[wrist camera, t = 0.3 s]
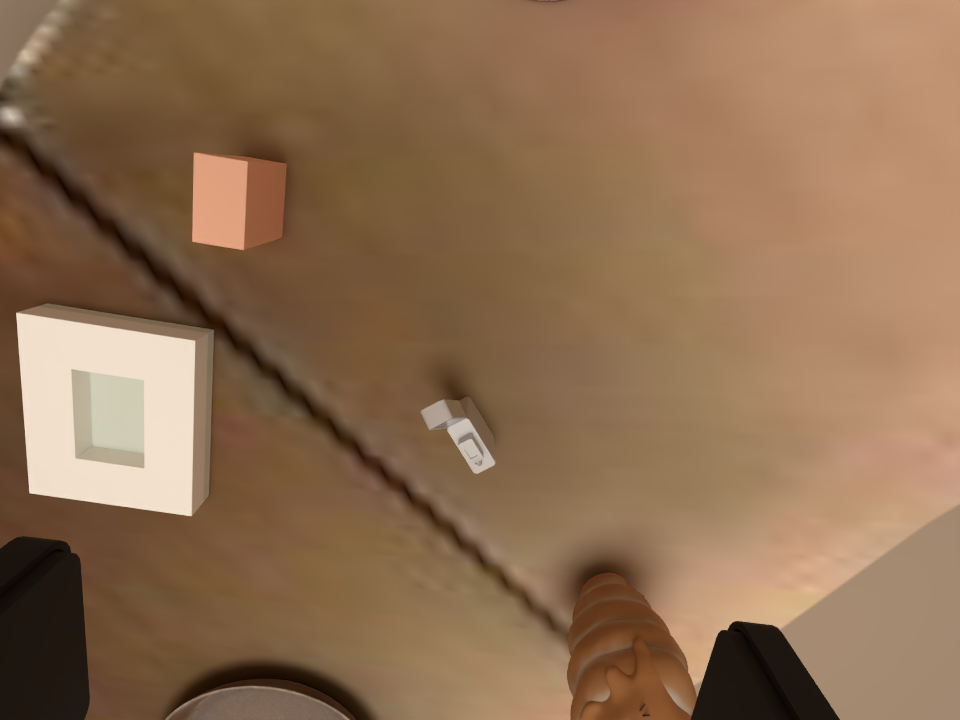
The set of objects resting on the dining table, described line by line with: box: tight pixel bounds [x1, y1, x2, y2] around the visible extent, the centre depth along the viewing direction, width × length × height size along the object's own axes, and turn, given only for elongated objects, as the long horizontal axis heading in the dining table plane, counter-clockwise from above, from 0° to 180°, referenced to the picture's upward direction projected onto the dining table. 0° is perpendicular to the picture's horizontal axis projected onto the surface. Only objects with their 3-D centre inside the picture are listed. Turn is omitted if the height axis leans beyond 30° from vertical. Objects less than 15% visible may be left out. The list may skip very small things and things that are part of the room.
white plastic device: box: [421, 396, 495, 474], centre depth 41 cm, size 7×2×8 cm, turn 29°
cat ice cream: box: [567, 573, 697, 720], centre depth 41 cm, size 9×8×18 cm
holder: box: [16, 303, 214, 516], centre depth 44 cm, size 14×12×3 cm
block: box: [192, 152, 287, 250], centre depth 37 cm, size 5×3×7 cm, turn 171°
